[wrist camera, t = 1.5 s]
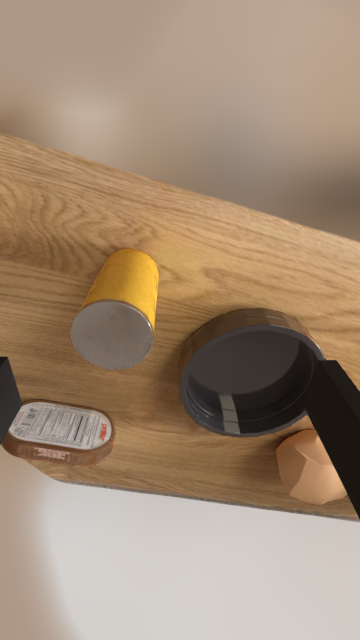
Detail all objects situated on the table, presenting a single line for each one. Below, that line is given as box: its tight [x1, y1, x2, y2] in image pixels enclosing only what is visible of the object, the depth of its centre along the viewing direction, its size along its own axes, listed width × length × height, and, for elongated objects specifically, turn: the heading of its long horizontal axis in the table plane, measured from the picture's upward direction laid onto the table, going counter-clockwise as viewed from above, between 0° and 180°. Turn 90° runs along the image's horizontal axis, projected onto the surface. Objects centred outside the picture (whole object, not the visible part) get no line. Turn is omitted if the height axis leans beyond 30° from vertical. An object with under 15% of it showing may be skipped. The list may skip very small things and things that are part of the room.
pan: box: [178, 308, 326, 438], centre depth 41 cm, size 19×19×4 cm
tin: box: [1, 399, 116, 467], centre depth 42 cm, size 15×3×8 cm, turn 74°
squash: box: [276, 429, 347, 505], centre depth 48 cm, size 11×20×9 cm, turn 81°
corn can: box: [71, 249, 159, 370], centre depth 30 cm, size 6×6×13 cm
